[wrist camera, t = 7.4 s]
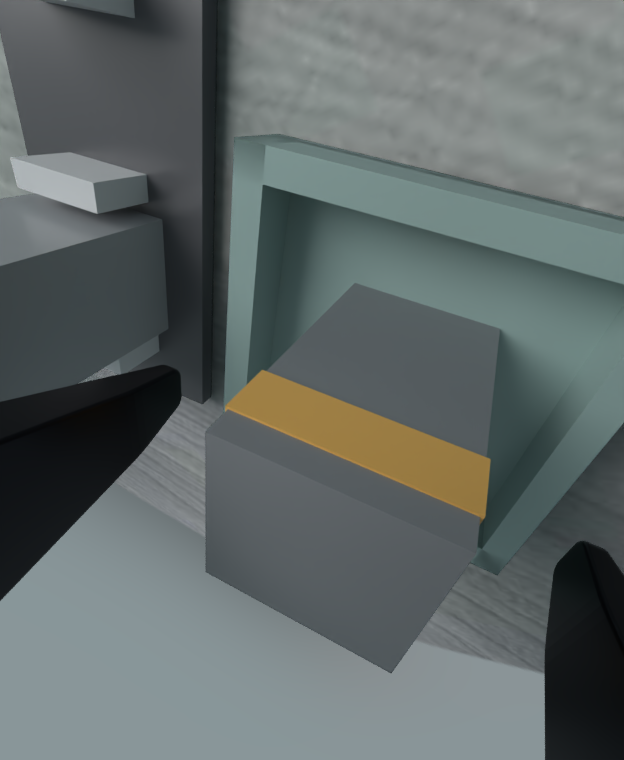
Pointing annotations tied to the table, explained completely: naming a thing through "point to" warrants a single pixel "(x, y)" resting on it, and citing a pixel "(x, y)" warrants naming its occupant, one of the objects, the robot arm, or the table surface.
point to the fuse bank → (109, 192)
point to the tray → (442, 298)
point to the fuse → (356, 471)
